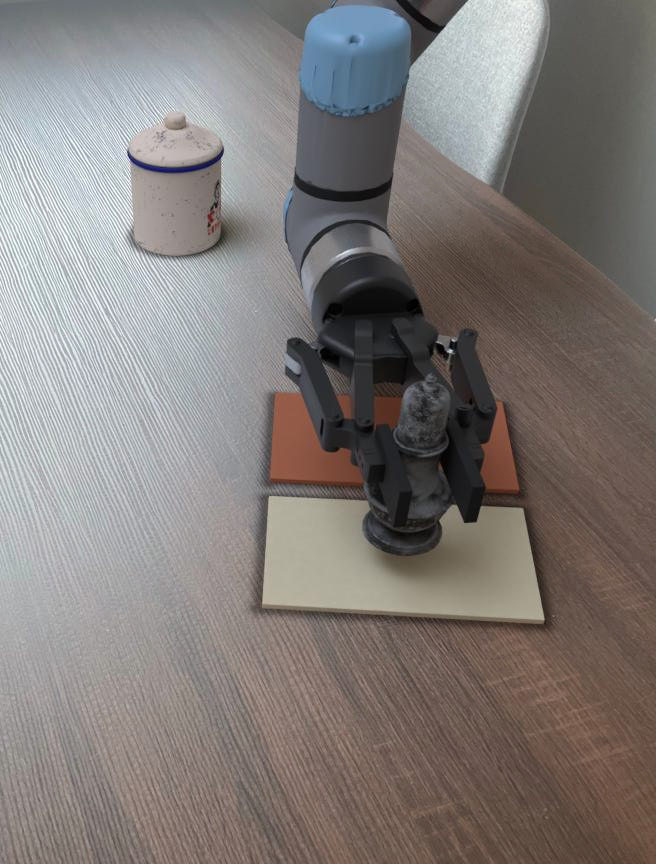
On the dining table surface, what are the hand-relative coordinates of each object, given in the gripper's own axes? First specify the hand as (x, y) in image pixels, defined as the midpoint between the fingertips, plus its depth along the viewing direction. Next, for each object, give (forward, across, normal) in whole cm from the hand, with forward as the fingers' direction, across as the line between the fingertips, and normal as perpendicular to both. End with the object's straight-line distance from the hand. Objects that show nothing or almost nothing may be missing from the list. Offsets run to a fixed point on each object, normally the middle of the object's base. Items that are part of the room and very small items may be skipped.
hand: (438, 506), depth 60 cm
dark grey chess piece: (-5, 0, -7) cm, 9 cm away
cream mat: (-5, 0, -9) cm, 11 cm away
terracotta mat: (-18, -2, -9) cm, 21 cm away
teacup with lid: (-55, +12, -10) cm, 57 cm away
